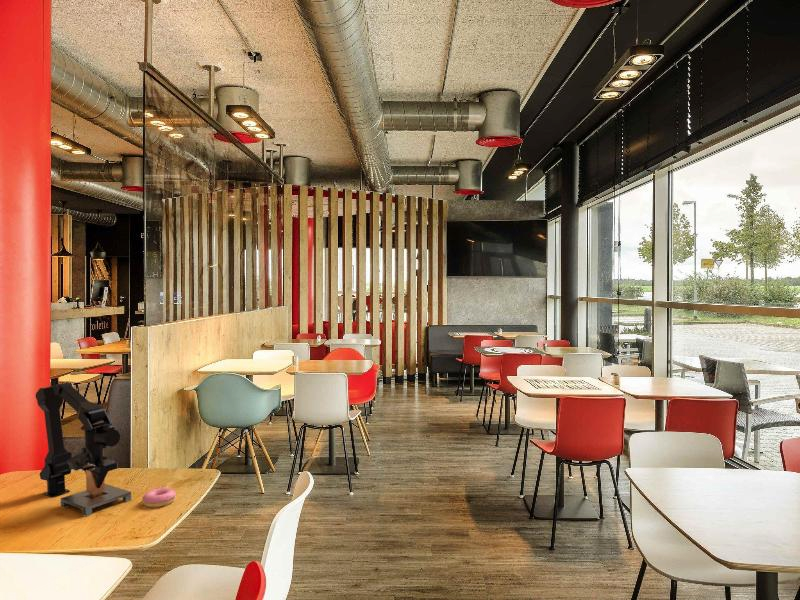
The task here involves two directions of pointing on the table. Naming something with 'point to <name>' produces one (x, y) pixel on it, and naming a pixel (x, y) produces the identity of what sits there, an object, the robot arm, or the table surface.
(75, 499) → the slotted plate
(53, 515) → the table surface
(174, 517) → the table surface
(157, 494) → the doughnut
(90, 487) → the square wooden peg
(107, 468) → the robot arm
